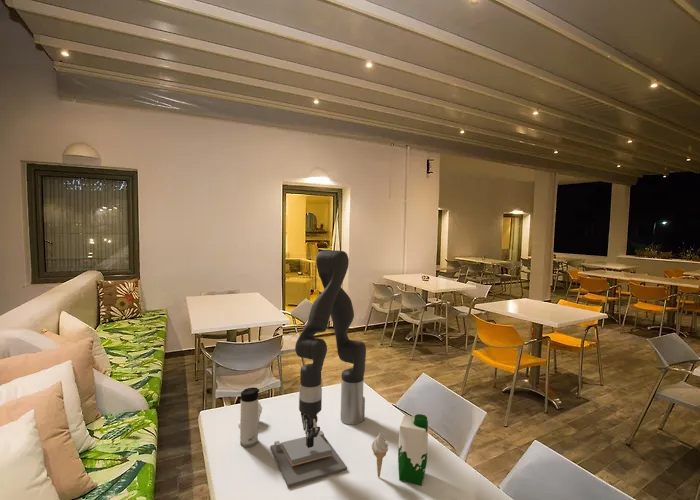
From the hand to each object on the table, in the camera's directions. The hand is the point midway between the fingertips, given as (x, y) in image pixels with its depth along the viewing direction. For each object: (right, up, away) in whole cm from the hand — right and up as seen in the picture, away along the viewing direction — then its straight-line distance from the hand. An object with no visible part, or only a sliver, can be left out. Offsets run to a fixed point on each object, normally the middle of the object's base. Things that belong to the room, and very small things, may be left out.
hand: (309, 446), depth 123 cm
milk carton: (+34, -7, -5) cm, 35 cm away
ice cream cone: (+23, -7, -6) cm, 25 cm away
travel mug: (-23, -5, +11) cm, 26 cm away
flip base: (-1, -6, +2) cm, 6 cm away
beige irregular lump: (-27, -4, +23) cm, 35 cm away
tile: (-4, -2, +8) cm, 9 cm away
